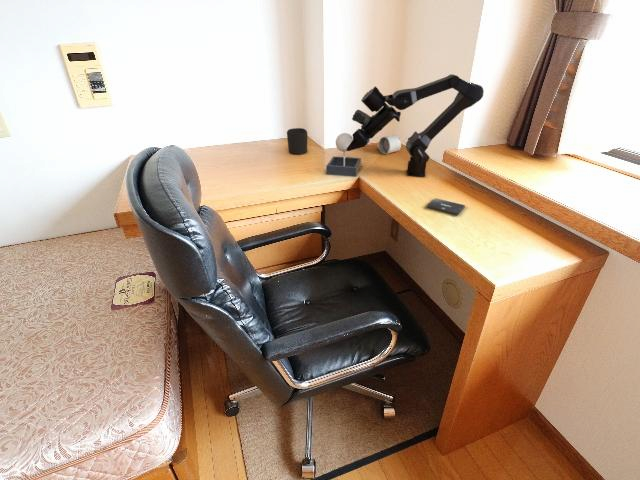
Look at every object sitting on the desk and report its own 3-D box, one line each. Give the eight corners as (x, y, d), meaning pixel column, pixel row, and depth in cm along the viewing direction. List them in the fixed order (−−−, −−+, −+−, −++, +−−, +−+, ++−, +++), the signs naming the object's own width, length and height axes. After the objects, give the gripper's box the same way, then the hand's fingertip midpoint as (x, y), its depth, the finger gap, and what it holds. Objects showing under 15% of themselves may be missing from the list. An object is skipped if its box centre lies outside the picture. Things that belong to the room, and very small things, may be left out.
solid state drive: (458, 215, 108) (458, 213, 108) (426, 207, 113) (427, 205, 113) (464, 207, 113) (465, 205, 113) (434, 199, 118) (435, 197, 118)
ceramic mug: (401, 152, 162) (403, 136, 158) (388, 156, 159) (390, 138, 155) (386, 147, 170) (387, 131, 166) (373, 150, 166) (374, 134, 162)
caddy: (360, 166, 148) (361, 158, 146) (356, 176, 138) (356, 167, 136) (333, 164, 151) (333, 156, 149) (326, 174, 141) (326, 165, 139)
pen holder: (311, 150, 167) (311, 129, 162) (300, 156, 160) (299, 134, 155) (295, 148, 171) (294, 127, 166) (284, 153, 165) (282, 131, 159)
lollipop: (351, 166, 147) (352, 130, 140) (353, 172, 141) (355, 135, 134) (334, 167, 147) (335, 131, 139) (336, 173, 141) (336, 136, 133)
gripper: (372, 98, 135) (344, 125, 145) (359, 107, 121) (329, 137, 130) (390, 120, 137) (361, 146, 146) (380, 132, 122) (349, 160, 131)
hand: (350, 146), depth 138 cm, fingers open, 9 cm apart
